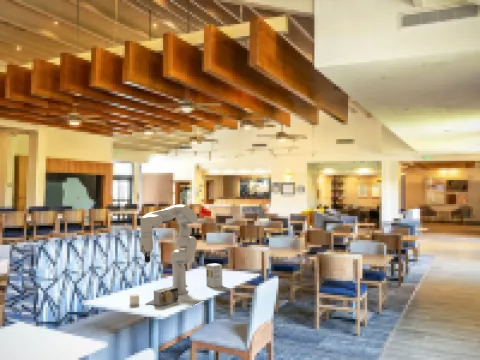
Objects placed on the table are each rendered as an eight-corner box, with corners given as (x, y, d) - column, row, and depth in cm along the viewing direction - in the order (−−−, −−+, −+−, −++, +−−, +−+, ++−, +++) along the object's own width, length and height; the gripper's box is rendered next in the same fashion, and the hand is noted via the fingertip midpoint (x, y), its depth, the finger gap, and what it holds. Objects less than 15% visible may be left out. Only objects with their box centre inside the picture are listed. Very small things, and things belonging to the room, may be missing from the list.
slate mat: (156, 298, 287) (156, 298, 287) (177, 300, 282) (177, 299, 282) (145, 304, 273) (145, 303, 273) (166, 305, 268) (166, 305, 268)
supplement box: (206, 285, 322) (205, 264, 323) (215, 284, 329) (214, 262, 329) (213, 287, 315) (213, 265, 316) (222, 285, 321) (222, 264, 322)
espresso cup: (133, 303, 277) (133, 294, 277) (140, 303, 275) (140, 294, 275) (128, 305, 271) (127, 296, 272) (135, 306, 269) (135, 296, 270)
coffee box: (159, 292, 267) (178, 287, 279) (153, 290, 271) (172, 285, 283) (159, 306, 267) (178, 300, 279) (153, 304, 271) (172, 299, 283)
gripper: (147, 233, 281) (148, 259, 281) (135, 236, 267) (136, 264, 267) (157, 233, 279) (157, 260, 279) (146, 236, 265) (146, 264, 265)
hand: (147, 262), depth 273 cm, fingers closed
